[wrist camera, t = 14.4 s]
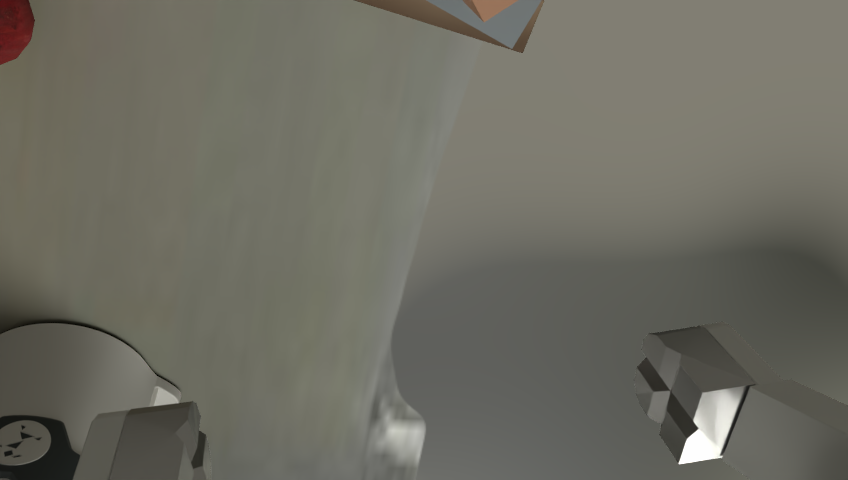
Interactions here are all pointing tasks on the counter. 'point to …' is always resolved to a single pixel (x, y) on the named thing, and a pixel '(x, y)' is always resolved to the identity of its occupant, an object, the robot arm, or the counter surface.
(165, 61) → the counter surface
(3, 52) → the onion
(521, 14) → the grey block
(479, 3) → the rust cube
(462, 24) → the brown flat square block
